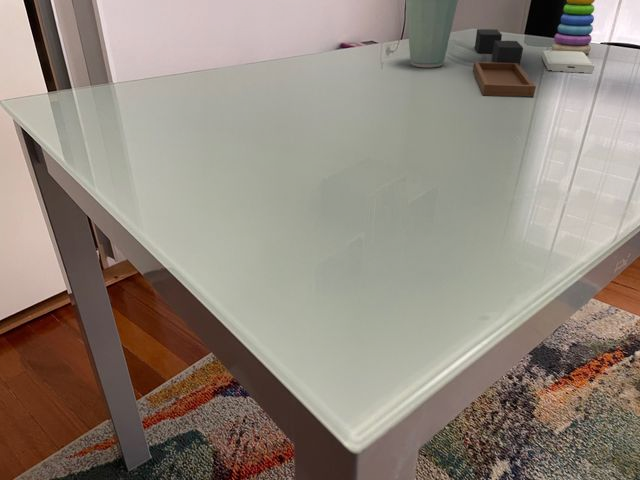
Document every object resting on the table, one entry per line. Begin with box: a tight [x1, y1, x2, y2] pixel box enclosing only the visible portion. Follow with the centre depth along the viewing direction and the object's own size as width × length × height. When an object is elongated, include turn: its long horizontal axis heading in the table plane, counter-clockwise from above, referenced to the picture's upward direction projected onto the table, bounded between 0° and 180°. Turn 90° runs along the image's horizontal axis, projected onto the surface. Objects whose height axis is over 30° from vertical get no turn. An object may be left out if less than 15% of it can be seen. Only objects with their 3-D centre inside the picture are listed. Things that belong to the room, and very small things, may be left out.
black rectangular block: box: [490, 40, 524, 67], centre depth 106 cm, size 4×7×4 cm, turn 171°
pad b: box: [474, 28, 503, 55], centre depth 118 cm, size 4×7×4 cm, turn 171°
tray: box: [472, 61, 537, 97], centre depth 94 cm, size 8×17×2 cm, turn 172°
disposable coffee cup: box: [405, 0, 459, 68], centre depth 103 cm, size 11×11×15 cm
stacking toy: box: [551, 0, 596, 55], centre depth 112 cm, size 8×8×19 cm
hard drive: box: [541, 49, 595, 74], centre depth 106 cm, size 2×8×12 cm
